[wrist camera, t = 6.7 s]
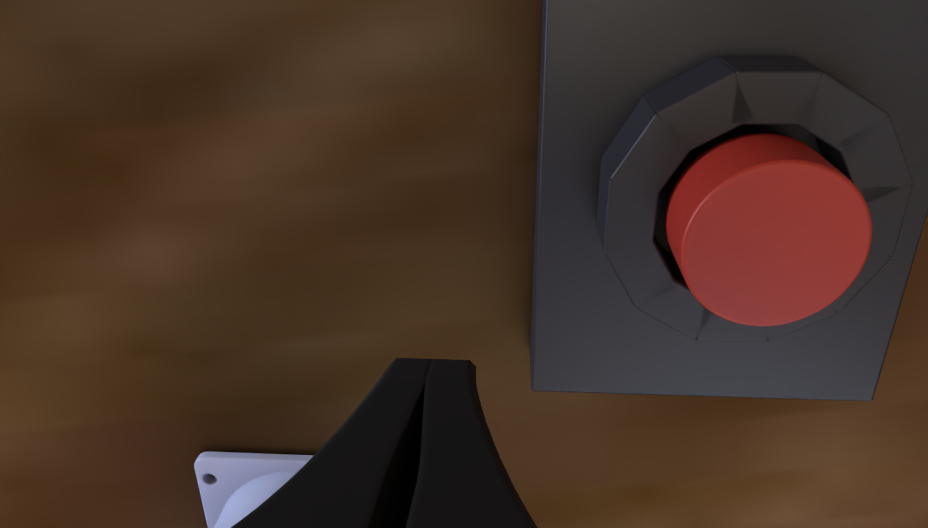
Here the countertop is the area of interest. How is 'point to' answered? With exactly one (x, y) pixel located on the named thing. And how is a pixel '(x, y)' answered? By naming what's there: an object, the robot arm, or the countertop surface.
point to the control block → (677, 145)
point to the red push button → (766, 230)
